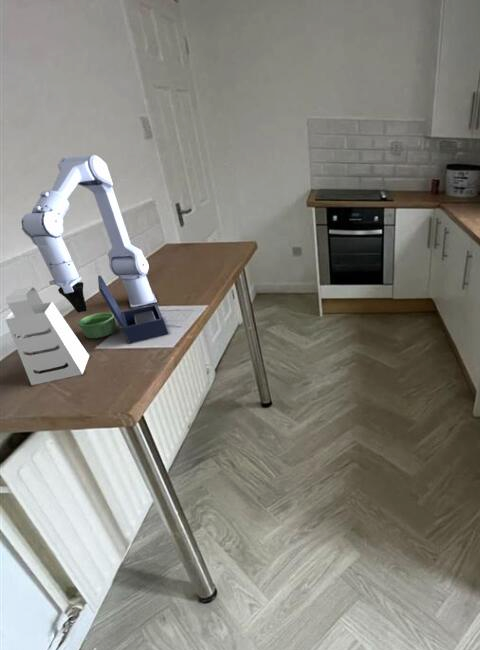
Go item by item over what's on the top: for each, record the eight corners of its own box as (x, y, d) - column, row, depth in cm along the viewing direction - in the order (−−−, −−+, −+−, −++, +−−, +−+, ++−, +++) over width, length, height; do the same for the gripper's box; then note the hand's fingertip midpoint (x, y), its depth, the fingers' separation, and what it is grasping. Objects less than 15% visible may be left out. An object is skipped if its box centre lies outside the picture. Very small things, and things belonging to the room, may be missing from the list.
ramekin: (87, 330, 123) (80, 316, 121) (120, 323, 126) (115, 310, 124) (81, 342, 116) (74, 327, 114) (117, 335, 119) (111, 320, 117)
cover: (100, 275, 116) (97, 276, 116) (101, 288, 105) (98, 289, 105) (120, 310, 122) (118, 311, 122) (123, 326, 112) (121, 327, 111)
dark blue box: (162, 318, 129) (156, 303, 126) (168, 333, 118) (163, 318, 116) (126, 326, 125) (120, 312, 122) (129, 343, 114) (123, 328, 112)
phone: (137, 323, 124) (133, 314, 122) (156, 319, 126) (152, 309, 124) (140, 335, 117) (136, 325, 115) (160, 330, 119) (156, 320, 117)
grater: (31, 385, 98) (-18, 304, 87) (42, 365, 106) (-1, 289, 95) (82, 374, 101) (41, 294, 90) (89, 355, 109) (52, 281, 98)
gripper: (43, 259, 112) (66, 306, 119) (38, 271, 101) (64, 323, 109) (73, 254, 115) (94, 301, 122) (72, 265, 104) (95, 316, 112)
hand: (82, 311), depth 116 cm, fingers closed
